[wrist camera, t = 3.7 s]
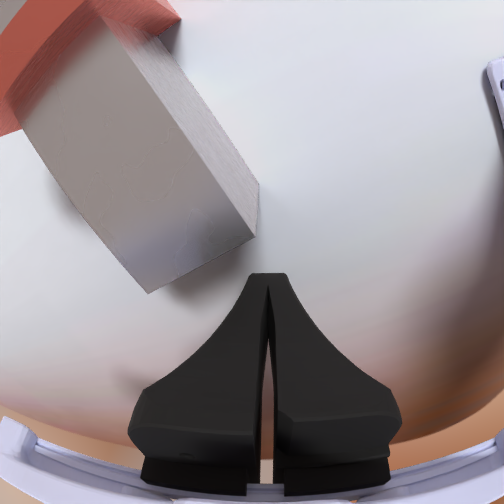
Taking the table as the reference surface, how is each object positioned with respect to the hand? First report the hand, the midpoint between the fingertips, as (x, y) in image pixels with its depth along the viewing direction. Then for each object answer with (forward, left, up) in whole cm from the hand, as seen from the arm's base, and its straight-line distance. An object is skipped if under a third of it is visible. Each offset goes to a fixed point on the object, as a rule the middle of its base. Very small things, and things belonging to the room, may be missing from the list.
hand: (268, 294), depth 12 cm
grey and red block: (+12, 0, -1) cm, 12 cm away
